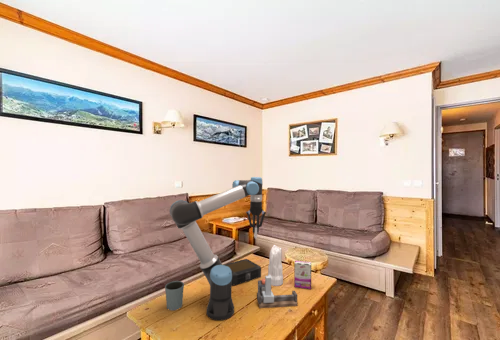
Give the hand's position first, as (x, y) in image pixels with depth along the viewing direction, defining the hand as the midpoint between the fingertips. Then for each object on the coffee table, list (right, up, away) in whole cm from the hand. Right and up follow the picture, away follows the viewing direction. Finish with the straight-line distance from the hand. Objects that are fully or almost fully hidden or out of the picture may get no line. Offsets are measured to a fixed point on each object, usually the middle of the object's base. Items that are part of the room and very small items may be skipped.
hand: (255, 237), depth 150 cm
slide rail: (+12, -35, -13) cm, 39 cm away
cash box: (-11, -35, +20) cm, 42 cm away
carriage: (+7, -33, -14) cm, 36 cm away
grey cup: (-47, -34, -18) cm, 60 cm away
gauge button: (+5, -28, -5) cm, 29 cm away
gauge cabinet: (+5, -35, -5) cm, 35 cm away
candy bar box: (+32, -35, +6) cm, 48 cm away
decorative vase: (+14, -35, +12) cm, 39 cm away
